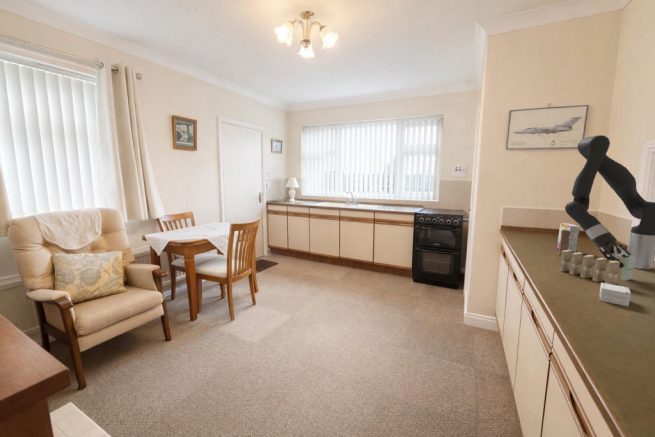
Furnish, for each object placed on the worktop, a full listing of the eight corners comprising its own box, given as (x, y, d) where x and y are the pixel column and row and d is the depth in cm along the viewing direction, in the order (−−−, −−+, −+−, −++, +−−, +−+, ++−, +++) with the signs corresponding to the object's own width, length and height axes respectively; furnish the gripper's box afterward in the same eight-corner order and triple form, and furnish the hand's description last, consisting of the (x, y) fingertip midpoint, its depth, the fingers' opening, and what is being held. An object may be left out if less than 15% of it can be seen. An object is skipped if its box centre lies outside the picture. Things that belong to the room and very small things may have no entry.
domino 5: (604, 284, 124) (608, 261, 122) (611, 282, 125) (615, 260, 124) (609, 285, 122) (613, 262, 121) (616, 284, 124) (620, 261, 122)
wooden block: (558, 256, 165) (562, 230, 162) (558, 254, 167) (561, 229, 165) (573, 257, 161) (577, 231, 159) (572, 256, 164) (576, 230, 162)
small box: (598, 294, 114) (600, 282, 113) (627, 300, 109) (629, 287, 108) (599, 300, 108) (601, 287, 107) (629, 307, 103) (631, 293, 102)
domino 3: (580, 276, 132) (583, 255, 130) (586, 275, 134) (590, 254, 132) (584, 278, 131) (587, 256, 129) (591, 276, 132) (594, 255, 131)
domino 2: (569, 273, 136) (572, 253, 135) (575, 272, 138) (578, 252, 136) (573, 274, 135) (576, 254, 133) (580, 273, 136) (583, 253, 135)
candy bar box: (556, 248, 181) (559, 222, 178) (565, 248, 180) (568, 223, 177) (566, 253, 170) (570, 226, 168) (576, 253, 169) (580, 226, 167)
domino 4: (592, 280, 128) (595, 258, 126) (598, 279, 130) (602, 257, 128) (596, 281, 126) (600, 259, 125) (603, 280, 128) (607, 258, 126)
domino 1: (558, 270, 140) (561, 250, 139) (565, 269, 142) (568, 249, 140) (562, 271, 139) (565, 251, 137) (569, 270, 141) (572, 250, 139)
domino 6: (620, 279, 129) (624, 257, 128) (626, 277, 131) (630, 256, 130) (625, 280, 128) (629, 258, 126) (631, 279, 130) (635, 257, 128)
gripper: (599, 232, 132) (627, 264, 123) (617, 230, 137) (645, 260, 128) (583, 241, 138) (609, 271, 129) (601, 239, 143) (627, 268, 134)
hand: (627, 266), depth 129 cm, fingers open, 8 cm apart
